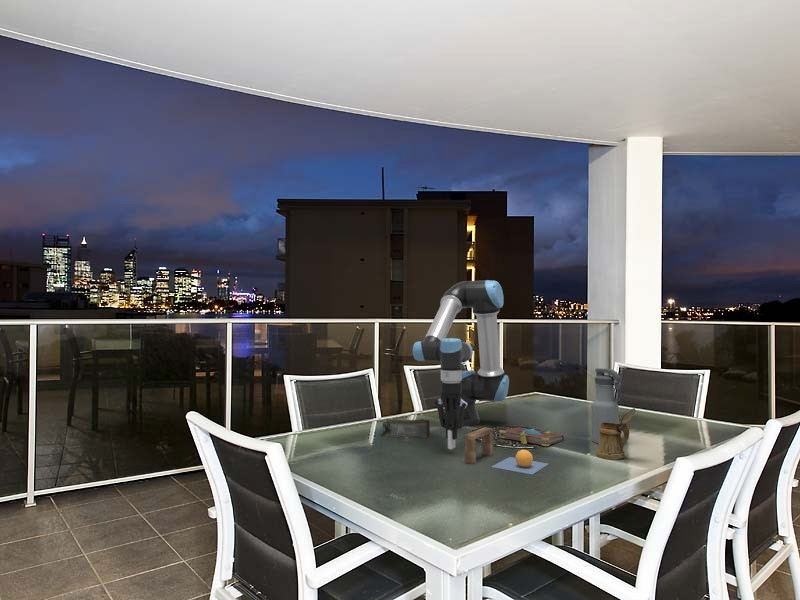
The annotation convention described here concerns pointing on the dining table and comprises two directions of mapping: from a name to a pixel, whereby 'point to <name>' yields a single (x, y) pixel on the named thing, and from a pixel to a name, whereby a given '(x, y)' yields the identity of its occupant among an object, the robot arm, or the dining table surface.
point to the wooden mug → (614, 438)
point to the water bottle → (605, 400)
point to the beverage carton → (406, 428)
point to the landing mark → (512, 465)
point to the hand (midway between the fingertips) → (451, 448)
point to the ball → (524, 458)
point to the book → (532, 436)
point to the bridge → (471, 444)
